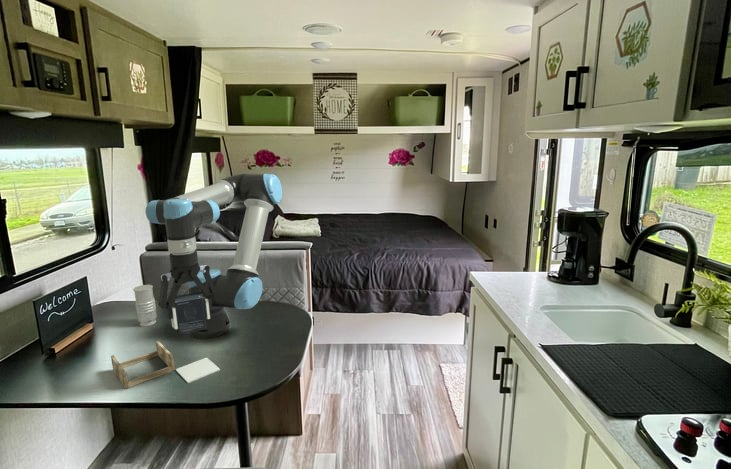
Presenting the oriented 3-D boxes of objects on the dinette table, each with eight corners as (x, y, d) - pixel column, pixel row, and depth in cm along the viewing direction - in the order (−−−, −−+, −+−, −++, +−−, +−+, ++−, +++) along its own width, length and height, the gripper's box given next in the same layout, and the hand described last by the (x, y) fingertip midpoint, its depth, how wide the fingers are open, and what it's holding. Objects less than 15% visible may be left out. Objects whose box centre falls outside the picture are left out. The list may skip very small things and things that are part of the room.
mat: (175, 370, 126) (175, 369, 126) (206, 358, 133) (206, 357, 133) (187, 383, 119) (187, 382, 119) (220, 370, 126) (220, 369, 126)
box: (205, 322, 127) (201, 291, 125) (206, 329, 122) (203, 297, 120) (178, 327, 124) (174, 295, 121) (178, 335, 119) (174, 301, 116)
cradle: (113, 370, 127) (110, 355, 126) (160, 353, 136) (158, 340, 135) (125, 388, 117) (123, 373, 116) (175, 369, 126) (173, 355, 125)
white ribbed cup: (161, 321, 161) (156, 286, 158) (144, 328, 156) (139, 292, 152) (151, 317, 165) (147, 283, 162) (134, 324, 159) (129, 288, 156)
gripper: (146, 262, 107) (157, 338, 112) (224, 247, 122) (230, 315, 127) (138, 256, 113) (149, 330, 118) (213, 243, 127) (220, 308, 132)
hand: (191, 322), depth 122 cm, fingers closed on box, 9 cm apart
